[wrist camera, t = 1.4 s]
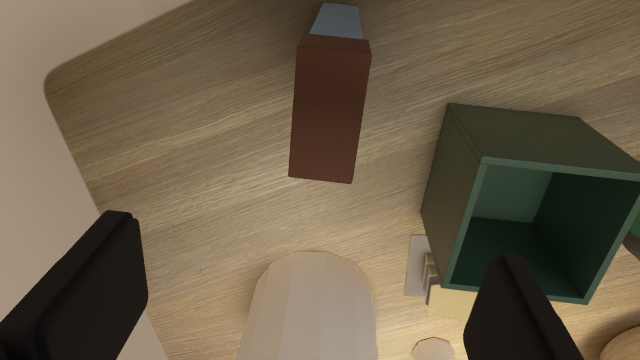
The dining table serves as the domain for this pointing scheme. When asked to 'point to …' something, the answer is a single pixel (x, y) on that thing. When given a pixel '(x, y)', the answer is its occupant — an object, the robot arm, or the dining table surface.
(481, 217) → the bin
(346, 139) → the reddish brown block
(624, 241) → the headphones
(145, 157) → the dining table surface
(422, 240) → the stacked layers on plate
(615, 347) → the vase
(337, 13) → the grey-blue rectangular block
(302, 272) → the container
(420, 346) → the pepper shaker
